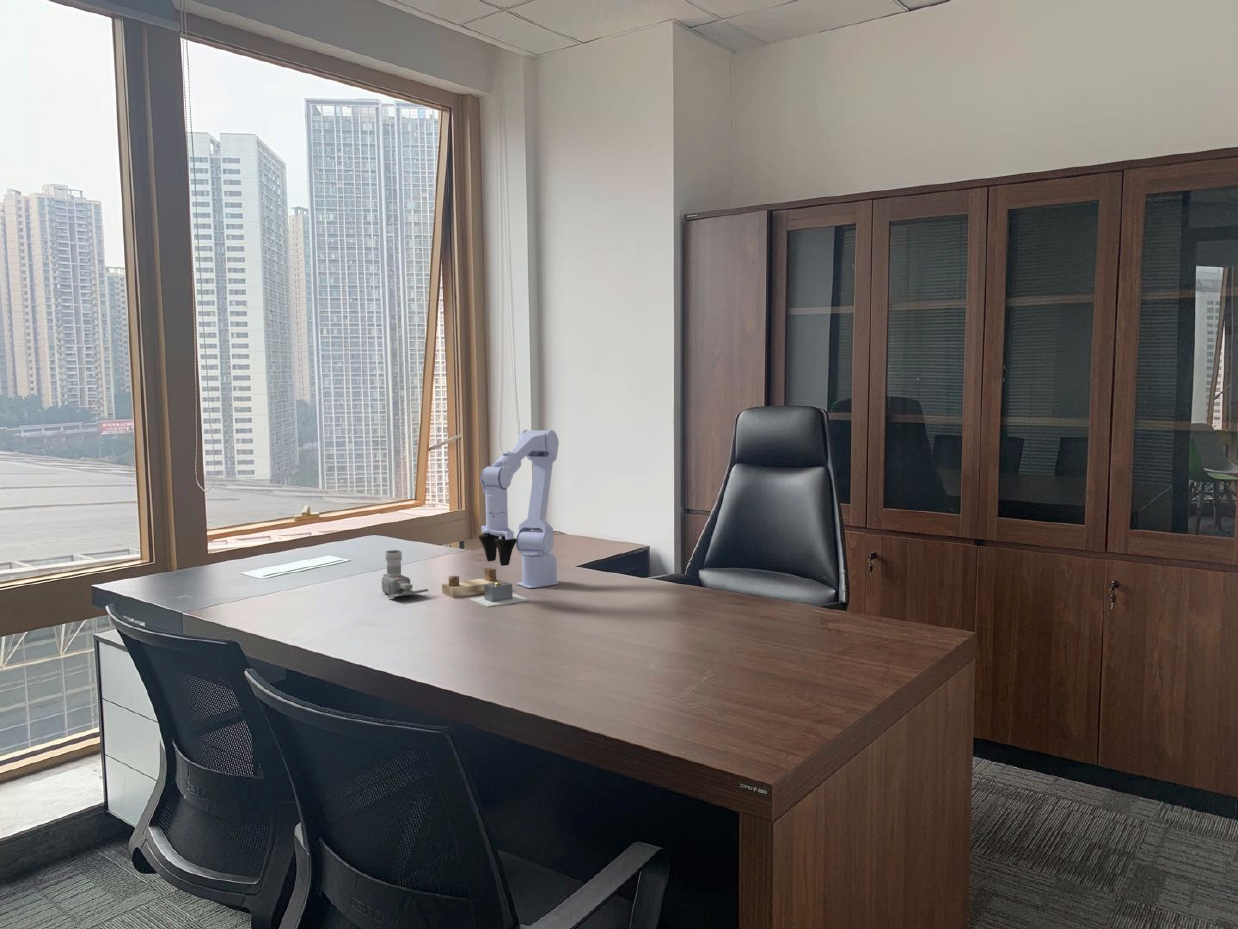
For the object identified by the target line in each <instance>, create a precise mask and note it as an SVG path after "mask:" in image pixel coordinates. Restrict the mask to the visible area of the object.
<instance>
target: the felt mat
mask: <svg viewBox="0 0 1238 929" xmlns="http://www.w3.org/2000/svg"><path fill="white" fill-rule="evenodd" d="M512 594H513V599H510V600H503V601H497V602H490V601H488V600H485V599H484V596H480V597H479V596H478V597H473V598H470V601H471V602H474V603H476V604H478V605H481V606H483V607H486V608H490V607H497V606H503V605H509V604H516V603H522V602H528V601H529V598H527V597H525V596H521V595H519V594H516V593H514V592H512Z"/></svg>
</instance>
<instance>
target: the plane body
mask: <svg viewBox="0 0 1238 929" xmlns="http://www.w3.org/2000/svg"><path fill="white" fill-rule="evenodd" d="M495 582H503V581H502V580H500V579H497V569H496V568H494V567H485V568H484V577H483V578H476V579H470V580H463V581H462V580H461V581H460V576H459V575H450V576H448V583H443V584H441V592H442V593H441V594H443V595H445V596H447V597H450V598H452V599H453V598H462V597H469V596H474V595H475V596H476V595H481V594H484V584H489V583H495Z"/></svg>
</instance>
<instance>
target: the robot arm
mask: <svg viewBox="0 0 1238 929" xmlns="http://www.w3.org/2000/svg"><path fill="white" fill-rule="evenodd" d="M558 451H559V437H558V435H557V433H556V431H555V430H552V429H549V430H533V429H531V430H528V429H524V430H522V431H521V433H519V434H518V443H516V445H515V446H514V448H513V449H512V450H511V451H509V450H507V451H503V453H502V455H501V456H500V457H499V458H498V459H497V460H496V461H495V462H494V463H493V464H492V465H491V466H486V467H485V468H483V469H482V471H481V473H480V477H479V481H480V484H481V487H482V493H483V495H484V496H485V498H484V500H485V525H481V526H480V527H481V534H479V535H478V539H479V541H480V542H481V544H482V546H483V550H484V553H485V557H486V561H487V562H495V561H496V559H497V551H498V558H499V563H500V566H501V567H506V566H509V565H510V562H511V556H512V553H513V550H514V547H515V548H516V551H518V553H519V555H521V575H522V576H521V579H522V581H517V582H516V585H519V586H521V587H525V588H527V589H533V588H535V589H536V588H541V587H547V586H548V587H549V586H553V585H559V581H558V572H557V570H558V569H557V559H556V555H555V554H554V553H553V552H552V549H553V547H554V536H553V535H554V532H553V531H554V528H553V527H552V525H551V524H550V523H549V522H547V520H546V516H547V509H548V502H549V495H550V494H549V493H550V488H551V479H552V473H553V466H554V464H553V463H554V462H556V461H557V458H558V457H557V456H558ZM524 458H527V460H529V461H531V462H532V463H533V465H534V466H533V473H532V482H531V488H530V495H529V502H528V503H529V504H528V510H527V518H526V519H524V520H523V521H522V522H521V523H520V524H518V528H517V532H516V534H515V533H514V531H513V530H511V529H510V527H509V516H508V514H509V512H508V488H509V487H510V485H511V483H512V480H513V477H514V474H515V473H516V472H518V470H519V469H520V468H521V467H522V460H523V459H524Z"/></svg>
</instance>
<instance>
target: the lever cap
mask: <svg viewBox="0 0 1238 929" xmlns="http://www.w3.org/2000/svg"><path fill="white" fill-rule="evenodd" d="M512 593H513V584H512V583H510V582H508V581H503V582H495V583H489V584H484V593H483V594H484V596H483V597H484V599H485V600H488V601H490V602H497V601H503V600H510V599H513V594H514V593H513V594H512Z"/></svg>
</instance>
